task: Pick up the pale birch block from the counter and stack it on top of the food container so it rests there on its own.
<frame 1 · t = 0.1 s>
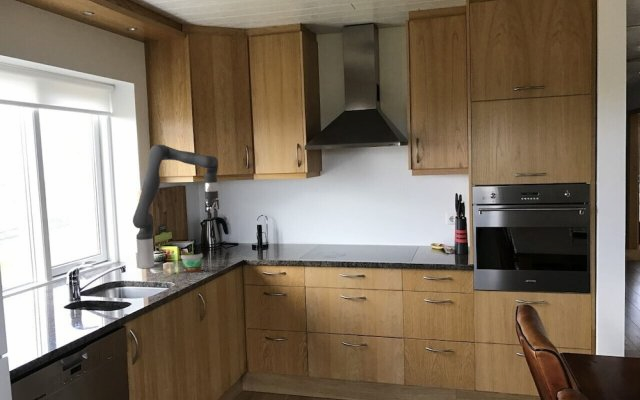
hand: (212, 218, 304), 29 cm above the worktop, tool pointing down, fingers open, 8 cm apart
food container: (192, 272, 298), on the worktop
birch block: (169, 273, 296), on the worktop
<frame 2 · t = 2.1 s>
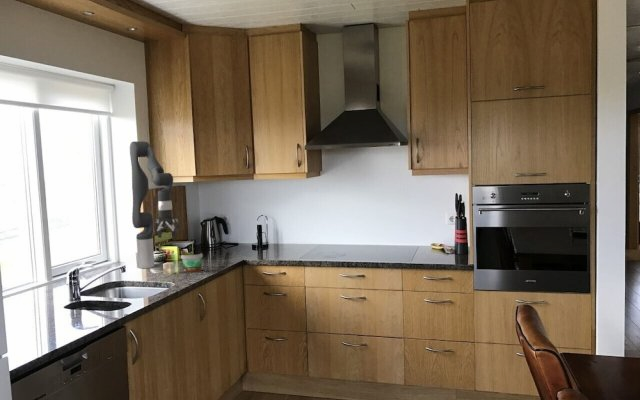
hand: (167, 237, 294), 20 cm above the worktop, tool pointing down, fingers open, 8 cm apart
nothing on the worktop moved.
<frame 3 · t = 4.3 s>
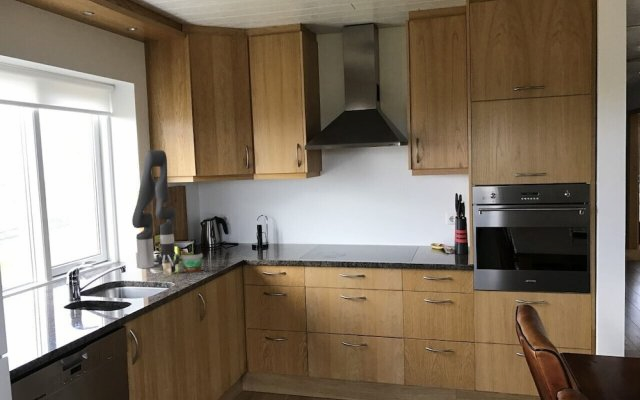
hand: (169, 272, 296), 1 cm above the worktop, tool pointing down, fingers closed on birch block, 4 cm apart
birch block: (169, 273, 296), on the worktop, touching gripper
everything else where it was.
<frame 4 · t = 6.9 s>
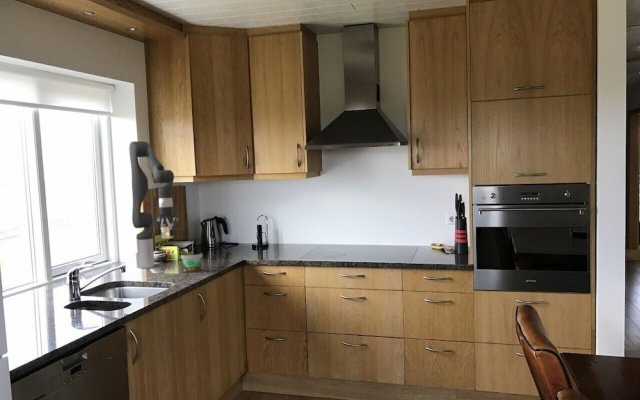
hand: (167, 236, 294), 21 cm above the worktop, tool pointing down, fingers closed on birch block, 4 cm apart
birch block: (167, 237, 294), point 20 cm above the worktop, touching gripper
everything else where it was.
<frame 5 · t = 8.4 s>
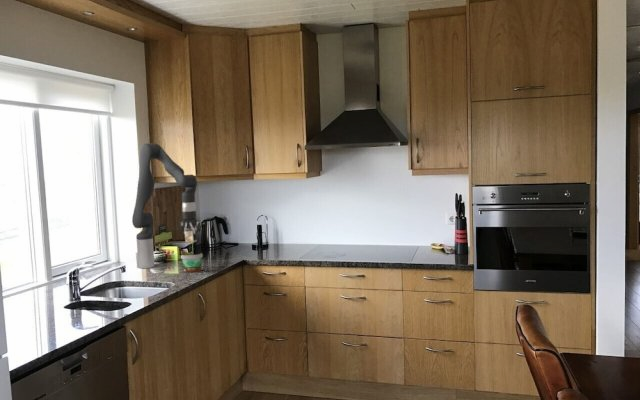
hand: (190, 240, 296), 18 cm above the worktop, tool pointing down, fingers closed on birch block, 4 cm apart
birch block: (190, 241, 296), point 17 cm above the worktop, touching gripper
everything else where it was.
when the fingers open (12 cm above the worktop, at t = 9.8 s): birch block drops 1 cm, resting on food container.
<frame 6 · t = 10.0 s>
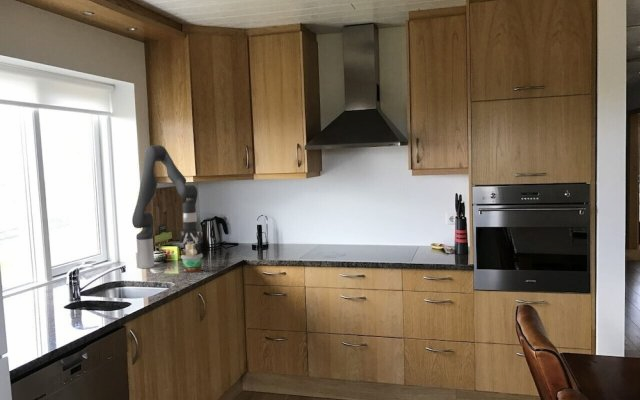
hand: (191, 249, 297), 13 cm above the worktop, tool pointing down, fingers open, 6 cm apart
food container: (192, 272, 298), on the worktop, touching birch block
birch block: (191, 254, 297), point 10 cm above the worktop, touching food container
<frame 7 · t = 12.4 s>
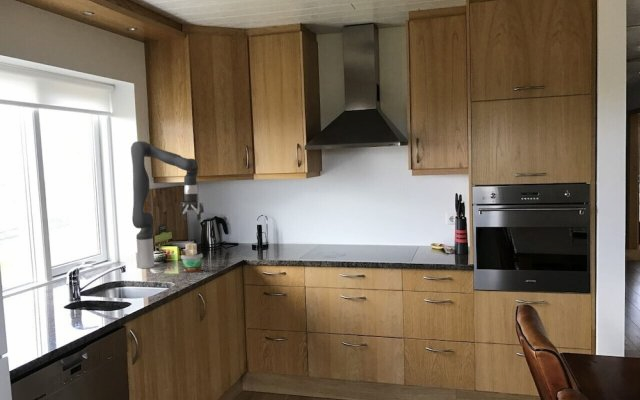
hand: (192, 220, 308), 28 cm above the worktop, tool pointing down, fingers open, 8 cm apart
nothing on the worktop moved.
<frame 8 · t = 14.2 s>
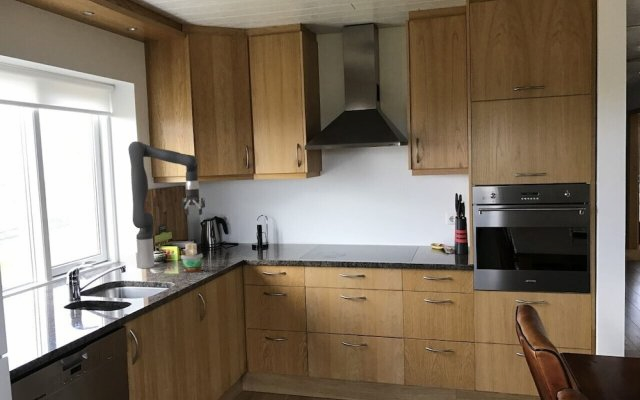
hand: (193, 215, 317), 30 cm above the worktop, tool pointing down, fingers open, 8 cm apart
nothing on the worktop moved.
at the end: birch block inside the target area on the food container (0.2 cm from its centre), point 10.2 cm above the food container's base; birch block tilted 0°; the gripper is holding nothing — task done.
